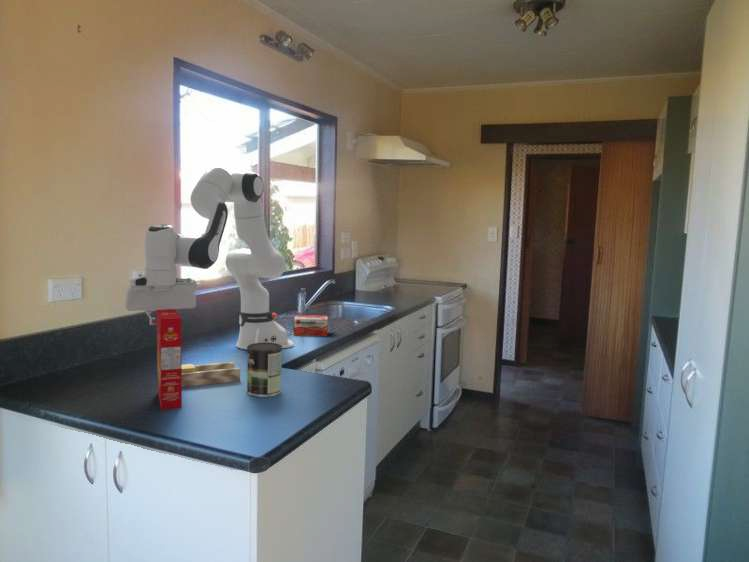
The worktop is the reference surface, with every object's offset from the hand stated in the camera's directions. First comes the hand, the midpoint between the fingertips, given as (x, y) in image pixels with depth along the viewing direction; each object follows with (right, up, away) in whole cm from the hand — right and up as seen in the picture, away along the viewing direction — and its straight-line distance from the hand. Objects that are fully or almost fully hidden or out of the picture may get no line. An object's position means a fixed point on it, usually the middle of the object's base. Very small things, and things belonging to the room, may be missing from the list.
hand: (161, 323), depth 173 cm
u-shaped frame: (+11, -19, +8) cm, 23 cm away
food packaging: (+7, -21, -12) cm, 25 cm away
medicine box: (+36, -11, +82) cm, 91 cm away
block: (+6, -19, +5) cm, 20 cm away
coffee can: (+32, -21, -1) cm, 38 cm away
